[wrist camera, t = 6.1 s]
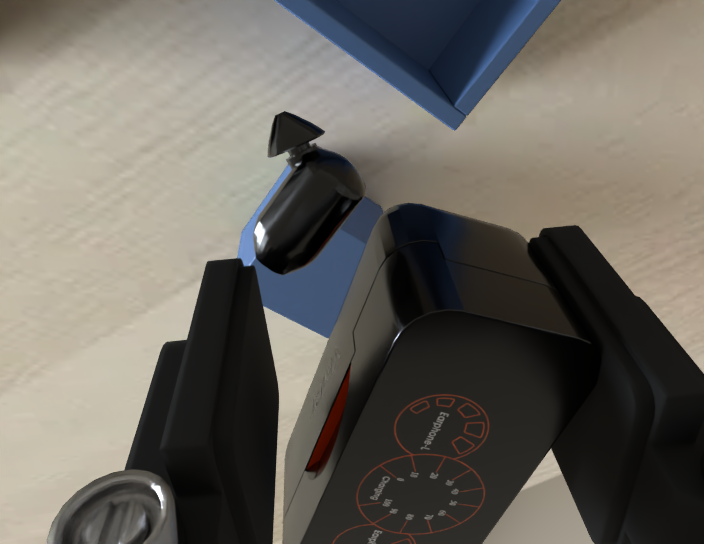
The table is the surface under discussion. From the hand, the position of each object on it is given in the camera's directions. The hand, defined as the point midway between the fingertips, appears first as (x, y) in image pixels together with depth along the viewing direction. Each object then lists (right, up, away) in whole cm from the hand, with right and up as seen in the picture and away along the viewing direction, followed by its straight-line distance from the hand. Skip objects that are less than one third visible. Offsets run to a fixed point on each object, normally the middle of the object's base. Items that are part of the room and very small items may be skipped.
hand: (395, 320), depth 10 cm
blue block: (-3, +3, +16) cm, 17 cm away
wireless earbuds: (-1, 0, +1) cm, 1 cm away
